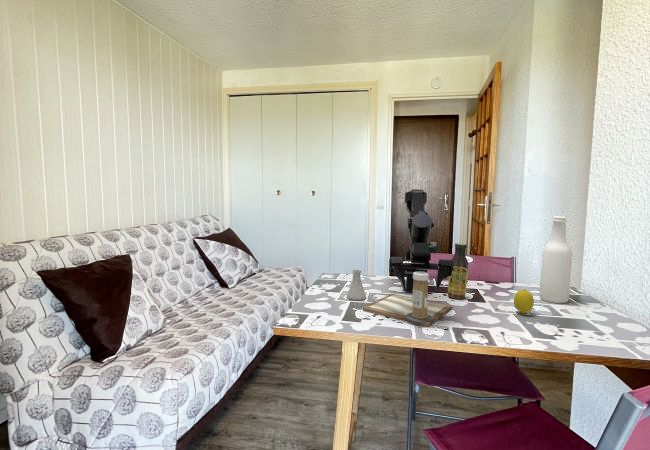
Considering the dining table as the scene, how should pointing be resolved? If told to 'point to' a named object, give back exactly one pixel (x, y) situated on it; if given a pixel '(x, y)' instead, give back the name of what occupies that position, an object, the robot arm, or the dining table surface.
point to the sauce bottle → (458, 273)
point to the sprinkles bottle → (420, 294)
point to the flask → (356, 287)
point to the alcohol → (556, 265)
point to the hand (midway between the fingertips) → (420, 291)
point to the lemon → (523, 301)
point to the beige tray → (406, 309)
